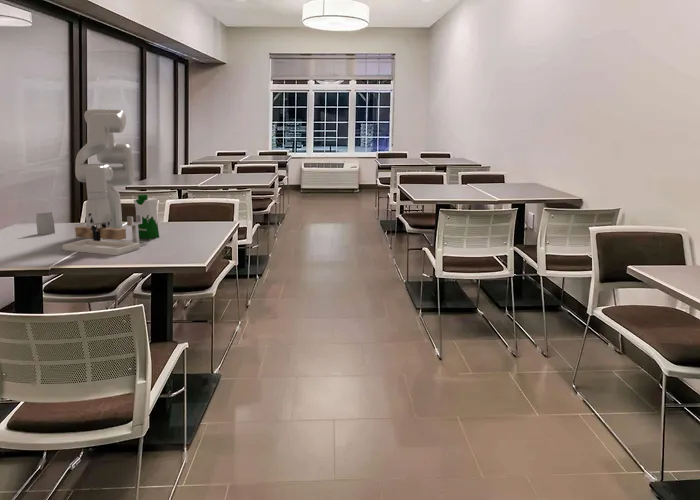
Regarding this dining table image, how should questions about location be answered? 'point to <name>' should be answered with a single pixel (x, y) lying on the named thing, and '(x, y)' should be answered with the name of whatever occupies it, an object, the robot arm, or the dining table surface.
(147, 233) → the milk carton
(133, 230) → the steel stand
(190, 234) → the dining table surface
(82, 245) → the off-white tray
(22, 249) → the dining table surface
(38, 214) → the grey block
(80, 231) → the walnut rail
